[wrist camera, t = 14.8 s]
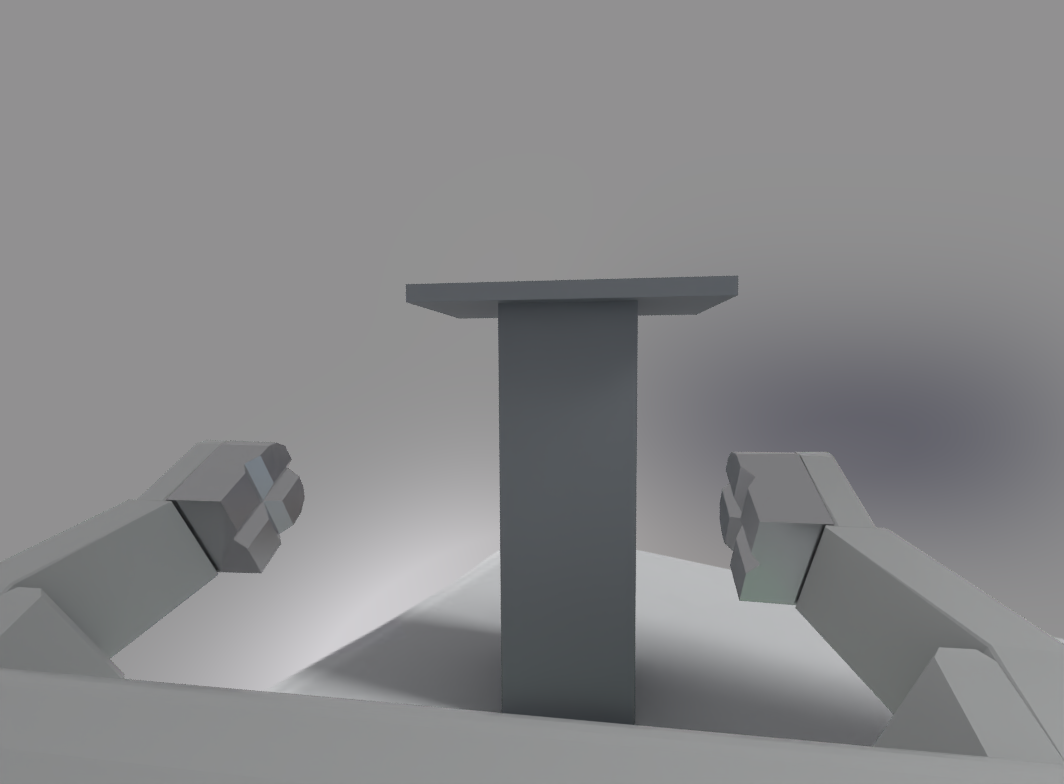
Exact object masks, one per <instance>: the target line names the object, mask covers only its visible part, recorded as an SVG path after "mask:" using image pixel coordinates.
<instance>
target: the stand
mask: <svg viewBox="0 0 1064 784" xmlns="http://www.w3.org/2000/svg"><path fill="white" fill-rule="evenodd" d="M737 295H738V276H711V277H710V276H709V277H671V278H633V279H594V280H559V281H558V280H555V281H521V282H520V281H517V282H479V283H440V284H406V302H408V303H411V304H414V305H417V306H420V307H424V308H427V309H430V310H434V311H437V312H440V313H443V314H447V315H450V316H453V317H456V318H498V337H499V339H498V340H499V441H500V442H499V449H500V559H501V669H502V713H508V714H519V715H530V716H541V717H552V718H563V719H574V720H585V721H596V722H607V723H618V724H629V725H634V723H635V593H636V463H637V462H636V461H637V459H636V458H637V457H636V456H637V334H638V331H637V330H638V329H637V327H638V326H637V325H638V315H697V314H698V313H701V312H703V311H705V310H707V309H709V308H711V307H714V306H716V305H718V304H720V303H722V302H724V301H727V300H729V299H731V298H733V297H735V296H737Z"/></svg>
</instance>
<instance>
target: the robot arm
mask: <svg viewBox="0 0 1064 784" xmlns="http://www.w3.org/2000/svg"><path fill="white" fill-rule="evenodd" d="M291 460H292V459H291V457H290V455H289V453H288V451H287V449H286V447H285V446H284V445H281V444H279V443H272V442H248V441H216V440H215V441H214V440H206V441H203V442H200V443H197V444H196V445H195V446H194V447H192V448H191V449H190V450H189V451H188V452H187V453H186V454H185V455H184V456H183V457H182V458H181V459H180V460H179V461H178V462H176V463H175V464H174V465H173V466H172V467H171V468H170V469H169V470H168V471H167V472H166V473H165V474H164V475H163V476H162V477H161V478H159V479H158V480H157V481H156V482H155V483H154V484H153V485H152V486H151V487H150V488H149V489H148V490H147V491H146V492H145V493H144V494H143V495H142V496H141V497H139V498H138V499H137V500H127V501H125V502H123V503H121V504H119V505H117V506H115V507H113V508H111V509H109V510H107V511H105V512H103V513H101V514H99V515H96V516H94V517H92V518H90V519H88V520H86V521H84V522H82V523H80V524H78V525H76V526H74V527H72V528H70V529H68V530H66V531H63V532H62V533H59V534H57V535H55V536H53V537H51V538H49V539H47V540H45V541H43V542H41V543H39V544H37V545H35V546H33V547H31V548H28V549H26V550H24V551H22V552H20V553H18V554H16V555H14V556H12V557H10V558H8V559H6V560H4V561H2V562H0V784H1064V644H1063V643H1061V642H1060V641H1058V640H1057V639H1055V638H1054V637H1052V636H1050V635H1049V634H1047V633H1046V632H1045V631H1043V630H1042V629H1040V628H1038V627H1037V626H1035V625H1034V624H1032V623H1031V622H1029V621H1028V620H1026V619H1025V618H1023V617H1022V616H1020V615H1019V614H1017V613H1016V612H1014V611H1013V610H1011V609H1009V608H1008V607H1006V606H1005V605H1003V604H1002V603H1000V602H999V601H997V600H996V599H994V598H993V597H991V596H990V595H988V594H987V593H985V592H983V591H982V590H980V589H979V588H977V587H976V586H974V585H973V584H971V583H970V582H968V581H967V580H965V579H964V578H962V577H961V576H959V575H957V574H956V573H954V572H953V571H952V570H950V569H948V568H947V567H945V566H944V565H942V564H941V563H939V562H938V561H936V560H934V559H933V558H931V557H930V556H929V555H927V554H926V553H924V552H922V551H921V550H919V549H918V548H916V547H915V546H913V545H912V544H910V543H909V542H907V541H906V540H904V539H903V538H901V537H900V536H898V535H897V534H895V533H894V532H892V531H890V530H889V529H887V528H876V527H875V525H874V523H873V522H872V520H871V518H870V517H869V515H868V514H867V512H866V510H865V508H864V507H863V505H862V503H861V502H860V500H859V498H858V497H857V495H856V493H855V492H854V490H853V489H852V487H851V485H850V483H849V482H848V480H847V478H846V477H845V475H844V473H843V472H842V470H841V468H840V467H839V465H838V464H837V462H836V460H835V458H834V457H833V456H832V455H831V454H829V453H828V452H795V453H775V452H772V453H771V452H769V453H768V452H731V454H730V456H729V458H728V462H727V466H726V472H727V476H728V479H729V482H730V483H729V484H728V485H727V486H725V487H724V488H723V489H722V494H721V500H720V524H721V531H722V535H723V539H724V543H725V544H726V545H727V546H728V547H729V548H730V549H731V550H733V554H732V559H731V564H730V566H731V570H732V574H733V578H734V582H735V585H736V589H737V593H738V597H739V601H751V602H763V603H775V604H788V605H796V607H795V608H796V609H797V610H798V611H799V612H800V613H801V614H802V615H803V617H804V618H805V619H806V620H807V621H808V622H809V623H810V624H811V625H812V626H813V627H814V628H815V630H816V631H817V632H818V633H819V634H820V635H821V636H822V637H823V638H824V639H825V640H826V641H827V643H828V644H829V645H830V646H831V647H832V648H833V649H834V650H835V651H836V652H837V653H838V654H839V656H840V657H841V658H842V659H843V660H844V661H845V662H846V663H847V664H848V665H849V666H850V667H851V669H852V670H853V671H854V672H855V673H856V674H857V675H858V676H859V677H860V678H861V679H862V680H863V682H864V683H865V684H866V685H867V686H868V687H869V688H870V689H871V690H872V691H873V692H874V693H875V695H876V696H877V697H878V698H879V699H880V700H881V701H882V702H883V703H884V704H885V705H886V706H887V708H888V709H889V710H890V711H891V712H892V713H893V714H894V715H893V717H892V718H891V720H890V721H889V723H888V724H887V726H886V727H885V729H884V730H883V732H882V733H881V735H880V736H879V738H878V739H877V741H876V742H875V744H874V745H873V746H862V745H851V744H840V743H828V742H817V741H806V740H795V739H784V738H773V737H762V736H751V735H740V734H729V733H717V732H706V731H695V730H684V729H673V728H662V727H651V726H640V725H629V724H618V723H607V722H596V721H585V720H574V719H563V718H552V717H541V716H530V715H519V714H508V713H497V712H486V711H475V710H464V709H453V708H442V707H431V706H420V705H409V704H398V703H387V702H375V701H364V700H353V699H342V698H331V697H320V696H308V695H297V694H286V693H275V692H264V691H253V690H252V691H251V690H242V689H231V688H230V689H229V688H219V687H208V686H197V685H186V684H175V683H164V682H153V681H141V680H129V679H124V673H123V672H122V671H121V670H120V669H119V668H118V667H117V666H116V665H115V664H114V663H113V662H112V661H111V660H110V658H112V657H113V656H114V655H115V654H117V653H118V652H119V651H121V650H122V649H123V648H124V647H126V646H127V645H128V644H130V643H131V642H132V641H133V640H135V639H136V638H137V637H139V636H140V635H141V634H142V633H144V632H145V631H146V630H148V629H149V628H150V627H151V626H153V625H154V624H155V623H157V622H158V621H159V620H160V619H161V618H163V617H164V616H166V615H167V614H168V613H169V612H171V611H172V610H173V609H175V608H176V607H177V606H178V605H180V604H181V603H182V602H184V601H185V600H186V599H187V598H189V597H190V596H191V595H192V594H194V593H195V592H196V591H198V590H199V589H200V588H202V587H203V586H204V585H205V584H207V583H208V582H209V581H211V580H212V579H213V578H215V577H216V576H217V575H218V572H233V573H234V572H235V573H262V572H263V570H264V569H265V567H266V566H267V564H268V563H269V561H270V560H271V558H272V557H273V555H274V554H275V552H276V551H277V549H278V548H279V546H280V545H281V540H280V533H282V532H283V531H285V530H286V529H288V528H289V527H291V526H292V525H294V523H295V521H296V520H297V518H298V517H299V515H300V513H301V510H302V506H303V502H304V489H303V485H302V482H301V480H300V477H299V476H298V475H296V474H295V473H294V472H293V471H291V470H290V469H289V468H288V467H289V464H290V462H291Z"/></svg>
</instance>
